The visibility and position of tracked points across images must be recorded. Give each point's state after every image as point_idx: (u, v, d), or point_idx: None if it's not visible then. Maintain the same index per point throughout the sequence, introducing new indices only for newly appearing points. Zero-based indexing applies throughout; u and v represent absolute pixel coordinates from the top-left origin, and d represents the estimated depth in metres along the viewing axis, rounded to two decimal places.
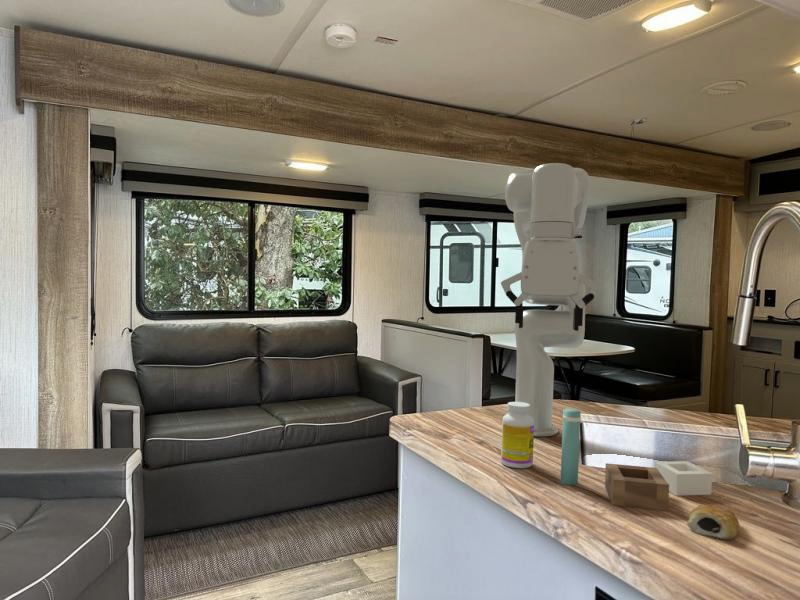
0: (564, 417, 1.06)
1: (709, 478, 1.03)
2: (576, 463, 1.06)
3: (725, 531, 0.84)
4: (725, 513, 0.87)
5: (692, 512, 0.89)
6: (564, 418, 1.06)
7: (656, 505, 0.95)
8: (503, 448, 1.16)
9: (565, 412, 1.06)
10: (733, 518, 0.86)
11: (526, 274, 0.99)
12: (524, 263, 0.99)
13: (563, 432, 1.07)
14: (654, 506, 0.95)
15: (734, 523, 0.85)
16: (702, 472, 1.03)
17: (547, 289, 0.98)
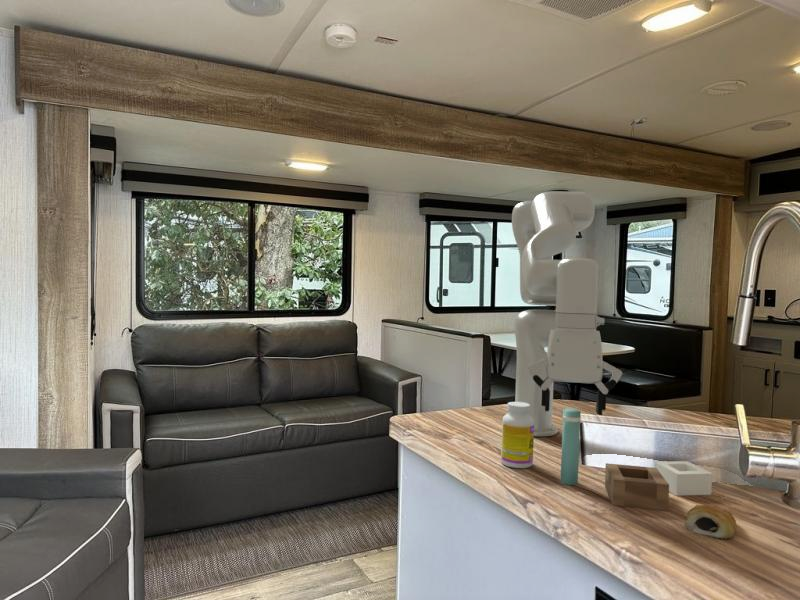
0: (564, 417, 1.06)
1: (709, 478, 1.03)
2: (576, 463, 1.06)
3: (723, 530, 0.84)
4: (722, 513, 0.87)
5: (690, 512, 0.89)
6: (564, 418, 1.06)
7: (656, 505, 0.95)
8: (503, 448, 1.16)
9: (565, 412, 1.06)
10: (730, 518, 0.87)
11: (552, 361, 1.05)
12: (550, 351, 1.05)
13: (563, 432, 1.07)
14: (654, 506, 0.95)
15: (731, 523, 0.86)
16: (701, 472, 1.03)
17: (572, 376, 1.04)
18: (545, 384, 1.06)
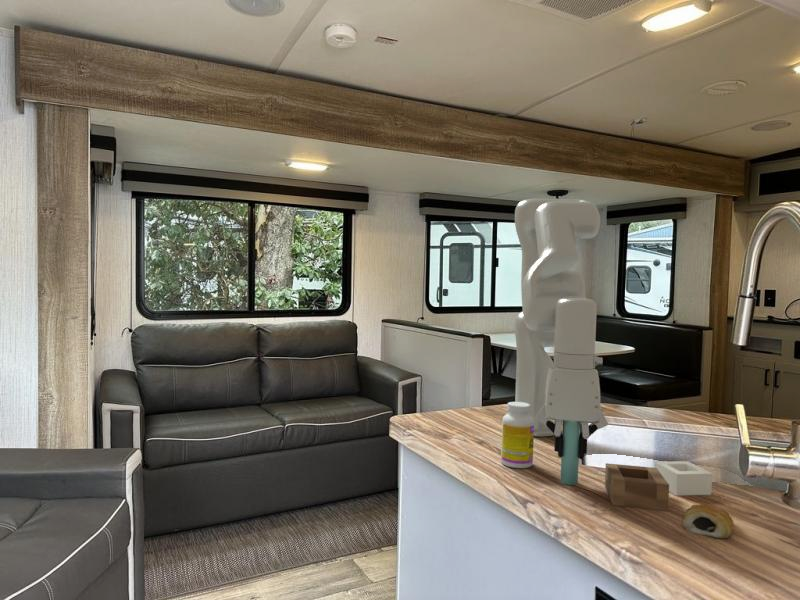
0: None
1: (709, 478, 1.03)
2: (576, 463, 1.06)
3: (721, 530, 0.84)
4: (720, 512, 0.87)
5: (687, 511, 0.89)
6: None
7: (656, 505, 0.95)
8: (503, 448, 1.16)
9: None
10: (728, 517, 0.87)
11: (550, 400, 1.06)
12: (548, 390, 1.06)
13: (563, 432, 1.07)
14: (654, 506, 0.95)
15: (729, 522, 0.86)
16: (702, 472, 1.03)
17: (570, 415, 1.05)
18: (557, 430, 1.06)
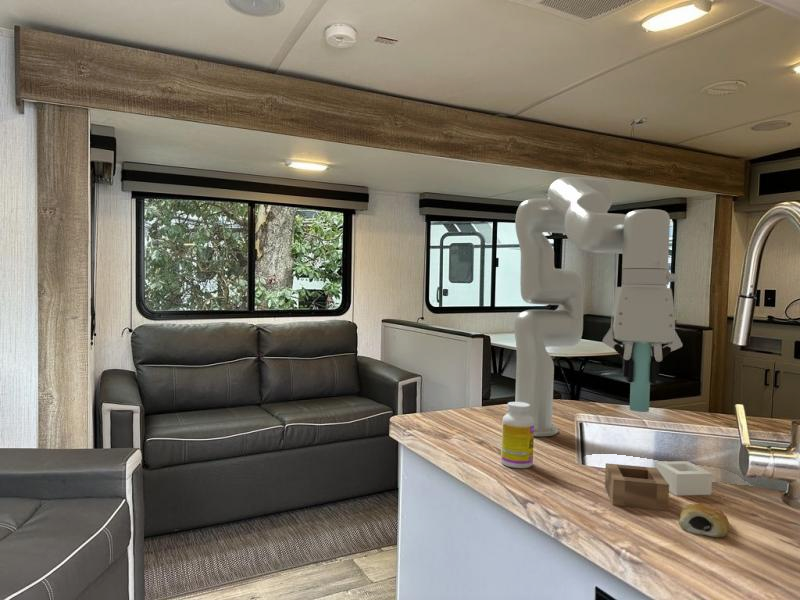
0: None
1: (709, 478, 1.03)
2: (648, 388, 0.98)
3: (717, 529, 0.85)
4: (715, 511, 0.87)
5: (683, 511, 0.89)
6: None
7: (656, 505, 0.95)
8: (503, 448, 1.16)
9: None
10: (723, 516, 0.87)
11: (620, 320, 0.98)
12: (617, 309, 0.98)
13: (633, 355, 0.99)
14: (654, 506, 0.95)
15: (724, 521, 0.86)
16: (702, 472, 1.03)
17: (642, 336, 0.97)
18: (626, 353, 0.99)
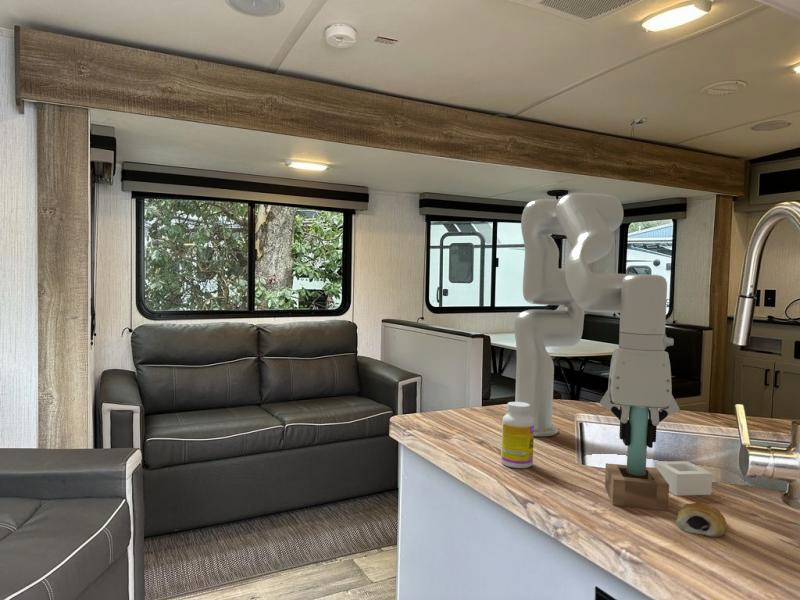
0: None
1: (709, 478, 1.03)
2: (645, 452, 0.98)
3: (715, 529, 0.85)
4: (713, 511, 0.88)
5: (681, 511, 0.89)
6: None
7: (656, 505, 0.95)
8: (503, 448, 1.16)
9: None
10: (720, 515, 0.87)
11: (617, 384, 0.98)
12: (615, 373, 0.99)
13: (630, 419, 0.99)
14: (654, 506, 0.95)
15: (722, 520, 0.86)
16: (701, 472, 1.03)
17: (639, 400, 0.98)
18: (623, 416, 0.99)
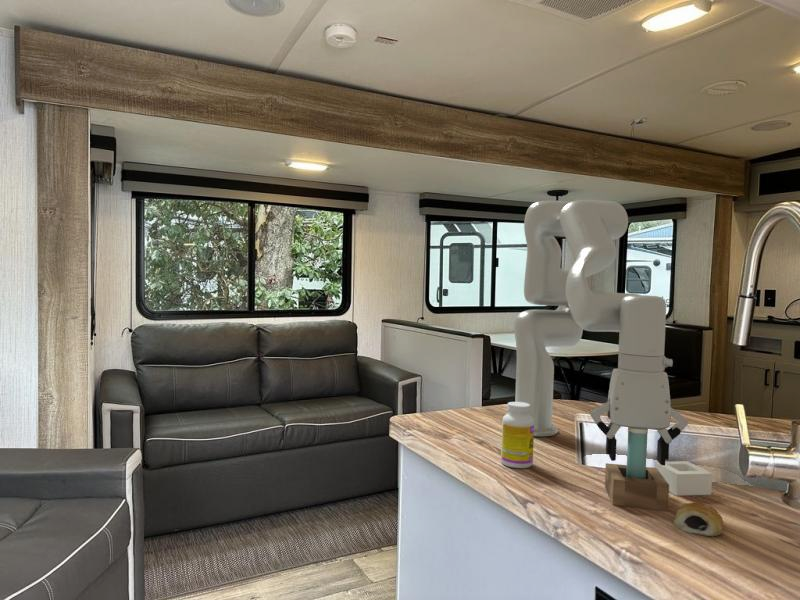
0: (630, 428, 0.99)
1: (709, 478, 1.03)
2: (643, 478, 0.99)
3: (712, 528, 0.85)
4: (710, 510, 0.88)
5: (678, 510, 0.89)
6: (630, 430, 0.99)
7: (656, 505, 0.95)
8: (503, 448, 1.16)
9: None
10: (718, 515, 0.88)
11: (616, 405, 0.98)
12: (614, 394, 0.99)
13: (629, 444, 1.00)
14: (654, 506, 0.95)
15: (719, 520, 0.87)
16: (702, 472, 1.03)
17: (638, 421, 0.98)
18: (611, 432, 1.00)
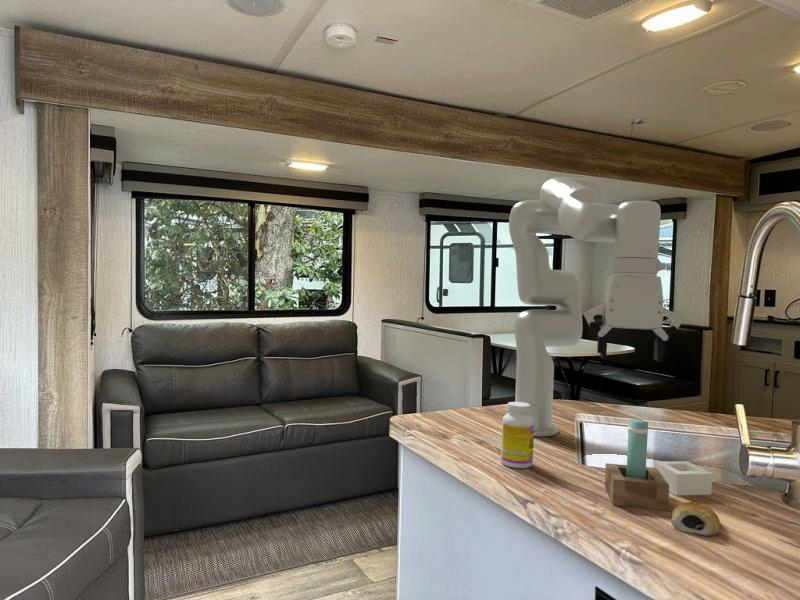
0: (630, 428, 0.99)
1: (709, 478, 1.03)
2: (643, 478, 0.99)
3: (709, 528, 0.85)
4: (707, 510, 0.88)
5: (675, 510, 0.89)
6: (630, 430, 0.99)
7: (656, 505, 0.95)
8: (503, 448, 1.16)
9: (632, 423, 0.99)
10: (714, 514, 0.88)
11: (611, 307, 1.03)
12: (609, 296, 1.03)
13: (629, 444, 1.00)
14: (654, 506, 0.95)
15: (716, 519, 0.87)
16: (701, 472, 1.03)
17: (631, 322, 1.02)
18: (602, 331, 1.04)
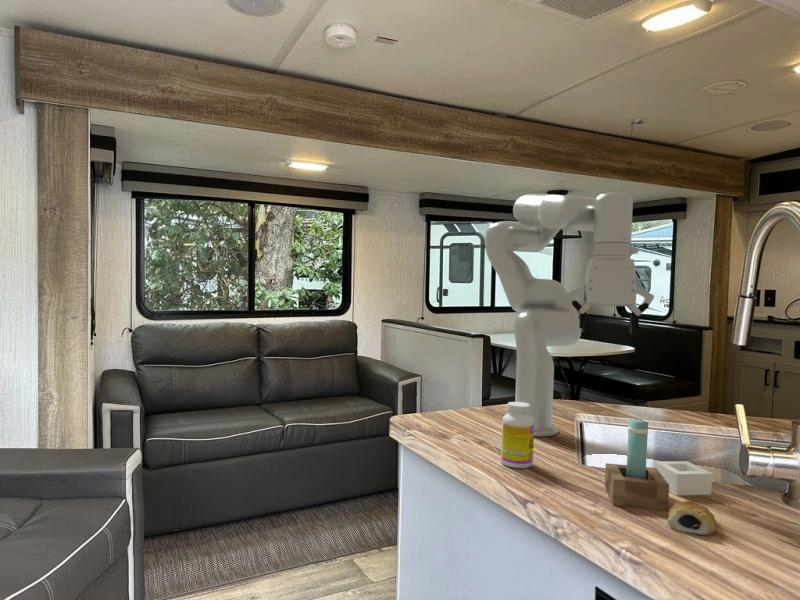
0: (630, 428, 0.99)
1: (709, 478, 1.03)
2: (643, 478, 0.99)
3: (706, 527, 0.85)
4: (703, 509, 0.88)
5: (671, 510, 0.89)
6: (630, 430, 0.99)
7: (656, 505, 0.95)
8: (503, 448, 1.16)
9: (632, 423, 0.99)
10: (710, 513, 0.88)
11: (590, 286, 1.16)
12: (588, 277, 1.16)
13: (629, 444, 1.00)
14: (654, 506, 0.95)
15: (712, 518, 0.87)
16: (702, 472, 1.03)
17: (609, 299, 1.15)
18: (583, 308, 1.17)
